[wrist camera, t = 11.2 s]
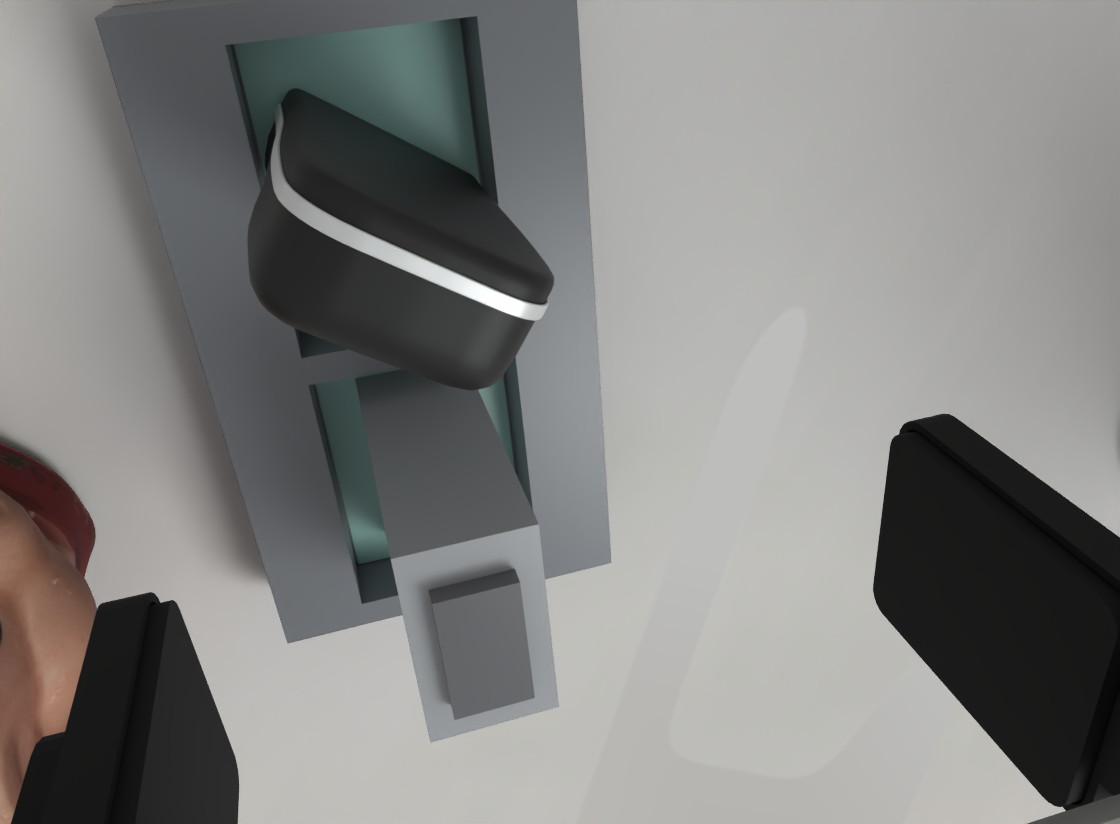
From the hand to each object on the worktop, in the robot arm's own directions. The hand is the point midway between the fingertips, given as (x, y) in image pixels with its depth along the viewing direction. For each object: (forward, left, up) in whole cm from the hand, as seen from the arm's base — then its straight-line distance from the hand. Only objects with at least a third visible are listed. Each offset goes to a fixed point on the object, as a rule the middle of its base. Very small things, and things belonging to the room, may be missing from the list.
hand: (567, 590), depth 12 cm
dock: (0, +5, -23) cm, 23 cm away
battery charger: (+1, 0, -22) cm, 22 cm away
